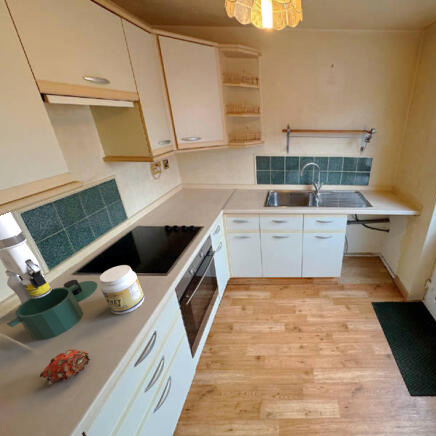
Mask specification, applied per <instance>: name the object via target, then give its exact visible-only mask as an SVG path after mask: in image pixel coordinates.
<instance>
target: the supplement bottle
mask: <svg viewBox="0 0 436 436" xmlns="http://www.w3.org/2000/svg"><path fill="white" fill-rule="evenodd" d="M29 273H30V274H31V275H32V273H33V271H31V272H29ZM20 276H21V277H22V279H23V280H22V284H23V286H24V287H25V289H26V290H27V292H28V293H29V295H30V296H31V297H32V298H40V297H43V296H45V295H47V294H48V293H50V292H51V290H52V289H53V288H52V287H51V285H50V284H49V282H48V280H47V279H46V277H45V276H44V274H43V273H42V276H43V277H44V279H45V280H46V282H47V283H46V284H44V285H42V286H40V287H38V288H34V287H33V285H32V283H31V282H30V280H29V279H30V278H29V277H28V275H27V274H26V273H25V274H21V275H20Z"/></svg>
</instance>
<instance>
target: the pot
mask: <svg viewBox="0 0 436 436" xmlns="http://www.w3.org/2000/svg"><path fill="white" fill-rule="evenodd" d="M77 288H79V286H78V285H75V284H74V285H72V286H71V287H69V288H66V287H64V286H63V287H55V288H51V289H52V290H51V292H50V293H48V294H47V295H45V296H43V297H40V298H30V299H28V300H27V301H25V302H24V303H23V304H22V303H21V304H20V305H19V306H18V307H17V308H16V310H15V316H16V317H15V318H13V319H11V320H10V321H7V322H6V324H7V326H8V327H12V328H14V327H15V326H17V325H18V324H20V323H21V324H22V326H23V327H24V328H25V329H26V331H27V332H28V334H29V335H30V336H31V338H33V339H34V340H36V341H45V340H49V339H52V338H55V337H58V336H60V335H61V334H64V333H66V332H68V331H69V330H70V329H72V328H73V327H75V326H76V325H77V324H78V323H79V322H80V321H81V320H82V318H83V316H84V310H83V308H81V305H80V304H79V302H77V300H76V298H75V296H74V295H73V293H72V291H74V290H75V289H77Z"/></svg>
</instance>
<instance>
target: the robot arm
mask: <svg viewBox="0 0 436 436" xmlns="http://www.w3.org/2000/svg"><path fill="white" fill-rule="evenodd" d="M27 240H28V239H27V238H26V235H24V233H23V231H22V229H21V228H20V225H19V224H18V222H17V221H16V219H15V218H14V216H13V214H12V213H11V211H10V212H9V213H6V214H4V215H1V216H0V261H1V263H2V265H3V266H4V268H5V269H6V270H9V271H11V272H14V273H17V275H19V278H20V279H21V281H22V280H23V279H22V277H21V276H20V275H21V274H25V273H26V274H27V275H28V277H29V278H30V279H29V280H30V282H31V283H32V285H33V287H34V288H38V287H40V286H42V285H44V284H46V283H47V282H48V281H47V279H46V278H45V279H46V280H45V279H44V277H45V276H44V275H43V276H44V277H43V276H42V274H43V273H42V272H41V271H42V270H41V269H40V263H39V261H38V259H37V258H36V256H35V255H34V253H33V252H32V250H31V249H30V247H29V246H28V245H27V243H26V242H27ZM31 271H33V273H32V275H31V274H30V273H29V272H31ZM46 281H47V282H46Z"/></svg>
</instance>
